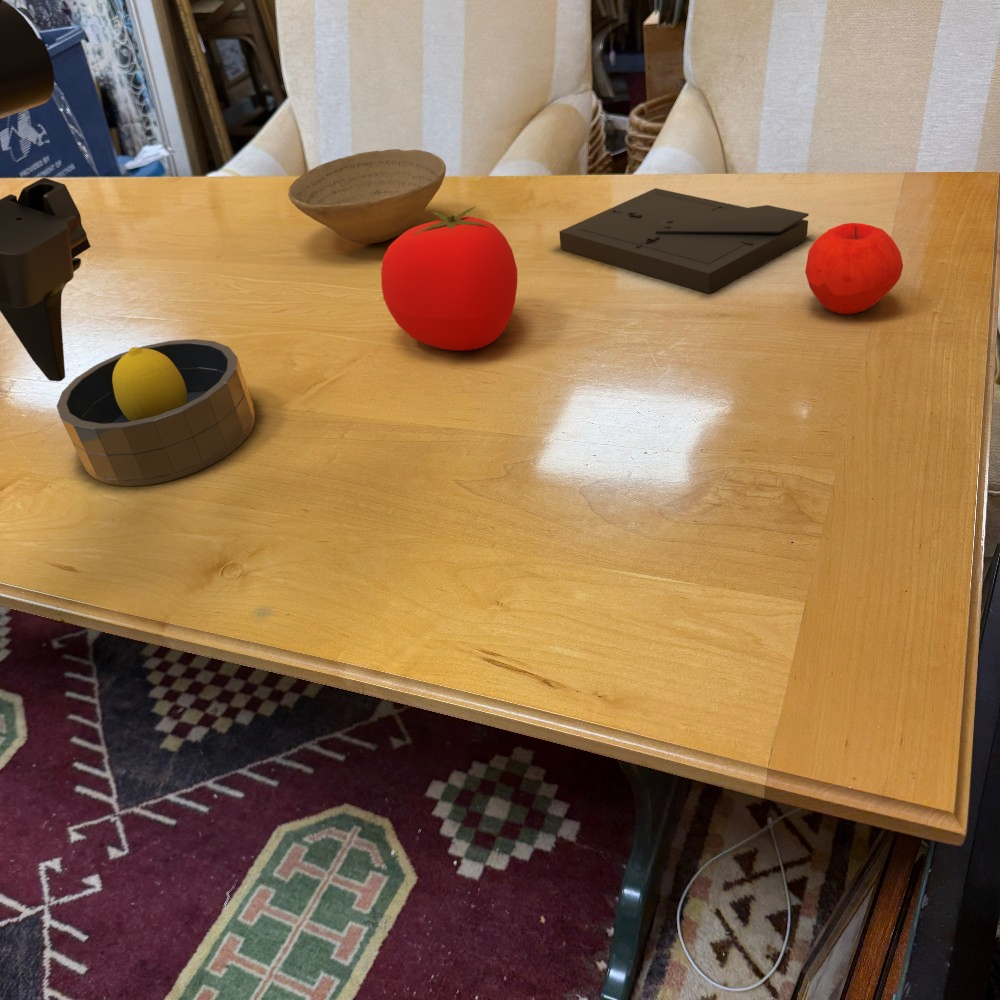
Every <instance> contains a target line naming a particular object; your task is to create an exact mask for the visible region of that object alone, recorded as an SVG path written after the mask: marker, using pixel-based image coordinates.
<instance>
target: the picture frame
mask: <svg viewBox="0 0 1000 1000" xmlns="http://www.w3.org/2000/svg"><path fill="white" fill-rule="evenodd" d="M809 216H810V214H809V213H807V212H804V211H803V212H802V211H798V210H794V209H788V208H784V207H779V206H773V205H769V204H765V205H759V206H749V207H746V206H740V205H737V204H732V203H727V202H723V201H718V200H713V199H708V198H704V197H699V196H694V195H690V194H685V193H680V192H675V191H672V190H666V189H662V188H657V187H655V188H652V189H651V190H648V191H645V192H644V193H642V194H640V195H637V196H635V197H633V198H631V199H628V200H626V201H624V202H622V203H619V204H617V205H615V206H613V207H610V208H608V209H606V210H604V211H602V212H599V213H597V214H595V215H593V216H590V217H588V218H585V219H583V220H582V221H579V222H577V223H574V224H572V225H570V226H569V227H566V228H564V229H561V230H559V232H558V233H559V243H560V250H561V251H565V252H568V253H572V254H575V255H578V256H582V257H585V258H588V259H591V260H594V261H597V262H598V261H599V262H601V263H605V264H608V265H611V266H615V267H618V268H621V269H625V270H627V271H628V270H629V271H632V272H635V273H638V274H642V275H644V276H648V277H651V278H655V279H658V280H661V281H664V282H669V283H672V284H675V285H678V286H682V287H686V288H689V289H691V290H695V291H698V292H702V293H704V294H705V293H706V294H712V293H714V292H715V291H717V290H719V289H721V288H722V287H725V286H726V285H728V284H730V283H732V282H734V281H735V280H737V279H739V278H741V277H742V276H745V275H746V274H749V273H750V272H751V271H754V270H755V269H757V268H759V267H761V266H763V265H764V264H766V263H768V262H769V261H770V262H771V260H774V259H775V258H777V257H779V256H781V255H782V254H784V253H786V252H788V251H790V250H792V249H793V248H795V247H797V246H799V245H801V244H803V243H804V242H806V241H807V239H808V229H809V227H808V226H809V220H806V219H805V218H807V217H809Z"/></svg>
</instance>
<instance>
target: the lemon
mask: <svg viewBox="0 0 1000 1000" xmlns="http://www.w3.org/2000/svg"><path fill="white" fill-rule="evenodd" d="M128 351H129V352H128V353H126V354H125V355H124V356H122V357H121V359H120V360H119V361H118V362H117V364H116V366H115V368H114V371H113V377H112V381H113V389H114V394H115V398H116V401H117V403H118V406H119V408H120V409H121V411H122V412H123V414H124V415H125V416H126V417H127V418H128V419H129V420H130V421H135V420H140V419H145V418H149V417H154V416H156V415H159V414H162V413H165V412H168V411H171V410H173V409H176V408H179V407H181V406H183V405H185V404H187V390H186V386H185V383H184V380H183V378H182V376H181V374H180V372H179V371H178V369H177V368H176V366H175V365H174V364H173V362H172V361H171V360H170V359H169V358H168V357H167V356H165V355H164V354H162V353H160V352H158V351H155V350H151V349H140V348H139V347H137V346H134V347H133V346H132V347H131V348H129V349H128Z"/></svg>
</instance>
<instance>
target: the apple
mask: <svg viewBox="0 0 1000 1000" xmlns="http://www.w3.org/2000/svg"><path fill="white" fill-rule="evenodd" d="M903 268H904V262H903V258H902V254H901V251H900V249H899V247H898V245H897V244H896V242H895V241H894V239H893V238H892V237H891V236H890V234H888V233H887V232H886V230H884V229H883V228H879V227H877V226H874V225H872V224H871V225H870V224H865V223H862V222H861V223H859V222H848V223H842V224H840V225H836V226H834V227H832V228H829V229H828V230H827V231H825V232H824V233H823V234H821V235H820V236H819V237H818V238H817V239H815V240H814V242H813V243H812V245H811V247H810V248H809V249H808V252H807V258H806V263H805V270H804V273H805V276H806V280H807V283H808V286H809V289H810V290H811V292H812V293H813V295H814V296H815V298H816V299H817V300H818V301H819V303H820V304H821V305H822V306H823V307H824V308H825V309H827V310H828V311H831V312H833V313H835V314H836V313H837V314H841V315H853V314H857V313H862V312H865V311H866V310H867V309H870V308H871V307H872V306H874V305H875V304H877V303H878V302H879V301H880V300H882V298H883V297H885V296H886V295H887V294H889V292H890V291H891V290H893V288H894V287H895V285H896V284H897V283H898V282H899V280H900V279H901V276H902V273H903Z"/></svg>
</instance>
